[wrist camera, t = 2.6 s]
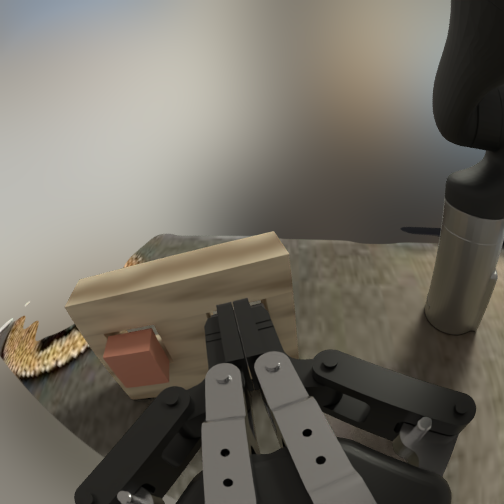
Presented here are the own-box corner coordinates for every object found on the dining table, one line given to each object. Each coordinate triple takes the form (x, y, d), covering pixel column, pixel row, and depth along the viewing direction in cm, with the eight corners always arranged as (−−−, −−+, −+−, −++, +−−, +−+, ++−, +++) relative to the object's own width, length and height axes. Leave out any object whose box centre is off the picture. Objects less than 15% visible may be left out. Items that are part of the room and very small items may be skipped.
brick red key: (129, 367, 27) (108, 336, 24) (169, 360, 27) (151, 328, 25) (126, 387, 24) (102, 357, 22) (169, 382, 25) (149, 350, 22)
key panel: (134, 371, 34) (79, 279, 26) (287, 338, 36) (273, 231, 28) (131, 399, 30) (64, 307, 22) (299, 366, 32) (289, 253, 24)
